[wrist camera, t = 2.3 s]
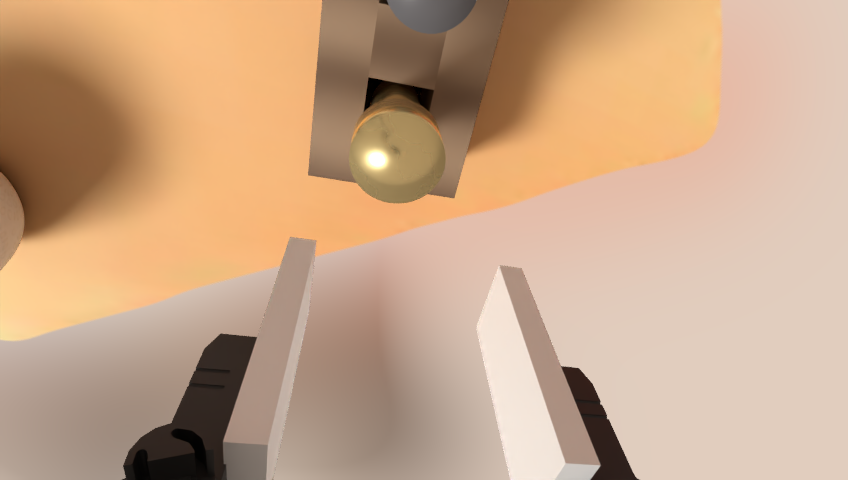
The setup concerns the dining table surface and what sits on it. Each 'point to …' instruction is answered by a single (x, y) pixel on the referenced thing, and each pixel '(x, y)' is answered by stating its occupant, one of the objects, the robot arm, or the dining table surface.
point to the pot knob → (431, 13)
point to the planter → (9, 221)
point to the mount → (399, 77)
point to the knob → (396, 146)
